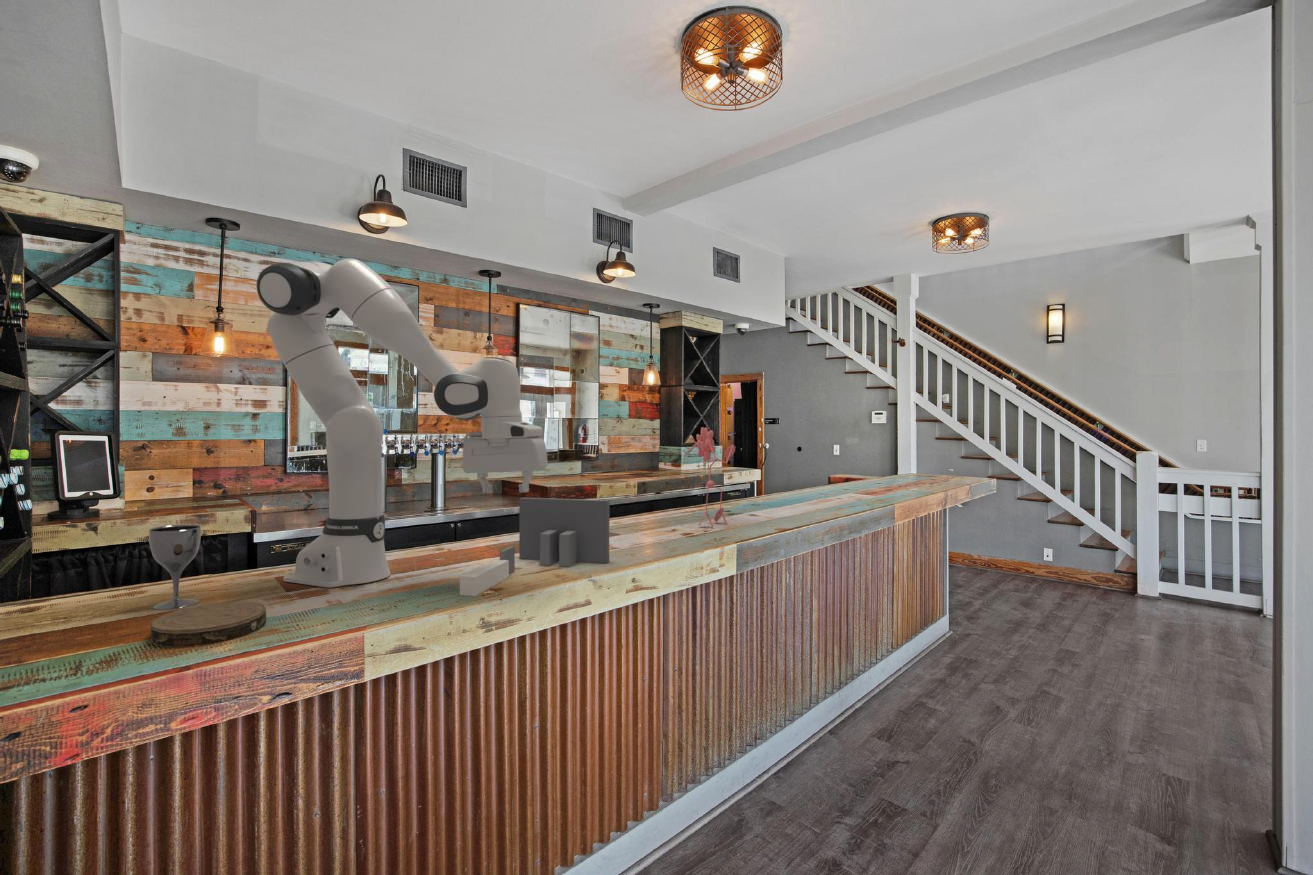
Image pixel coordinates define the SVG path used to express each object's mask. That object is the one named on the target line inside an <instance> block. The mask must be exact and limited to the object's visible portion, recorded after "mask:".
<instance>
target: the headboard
mask: <svg viewBox="0 0 1313 875" xmlns="http://www.w3.org/2000/svg"><path fill="white" fill-rule="evenodd" d="M518 519H519V522H518V523H519V526H518V527H519V531H518V532H519V538H518V540H519V548H518V549H519V551H518V552H519V553H518V554H519V556H518V558H519V559H520V560H534V561H535V560H536V561H539V566H541V565H542V566H545V567H550V566H552V565H554V564H555V563H557V562H558V564H559V565H558V566H559V568H560V567H564V568H570V567H572V566H573V565H574V564H576V563H591V564H593V563H594V564H609V562H610V500H609V499H585V498H583V499H580V498H547V497H546V498H545V497H520V498H519V518H518Z"/></svg>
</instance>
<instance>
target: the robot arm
mask: <svg viewBox="0 0 1313 875" xmlns="http://www.w3.org/2000/svg"><path fill="white" fill-rule="evenodd" d="M256 292H257V295H258V297H259V299H260V301H261V303H262V304H263V305H264V306H265V307H266V308H267V309H269V310H270V311H271V312H274V313H273V314H272V315H271V316H270V317H269V319H268V321H267V330H268V333H269V336H270V338H271V341H272V343H273V346H274V348H275V350H276V352H277V355H278V356H279V358H280V360H281V362H282V363H283V365H284V366H285V369H286V370H287V372H288V374H289V375H290V377H291V379H292V380H293V382H294V383H295V385H296V386H297V388H298V390H299V392H300V393H301V395H302V397H303V398H304V399H305V401H306V402H307V403H308V405H309V406H310V408H311V409H312V410H313V411H314V413H315V414H316V415H317V417H318V419H319V421H320V422H321V423H322V424H323V425H324V427H325V444H326V446H325V447H326V448H325V449H326V460H327V462H326V463H327V473H328V475H327V476H328V489H329V490H328V491H329V493H328V494H329V495H328V496H329V498H328V501H329V502H328V506H329V509H328V510H329V511H328V512H329V516H328V517H327V518H325V520H320V521H317V522H318V523H320V524H318V527H322V526H323V528H322V534H320V535H319V536H318V537H316V538H315V539H313V540H312V541H311V542H310V543H308V545H306V546H305V547H303V548H302V549H301V550H300V551H299V553H298V554H297V556H296V560H295V567H294V568H295V569H294V571H291V572H289V573H287V574H285V575H284V576H283V580H282V581H283V582H287V583H292V584H293V583H295V584H301V585H307V586H315V587H321V588H327V589H329V588H336V587H343V586H349V585H358V584H365V583H366V584H367V583H371V582H372V583H373V582H376V581H379V580H380V581H381V580H383V579H385V578H388V577H389V576H391V574H392V573H391V570H390V568H389V564H388V560H387V555H386V554H387V553H386V549H385V532H386V519H385V516H386V515H385V514H384V513H383V511H384V510H383V509H384V508H383V504H384V503H383V502H384V501H383V500H384V499H383V496H384V495H383V493H384V491H383V488H384V487H383V486H384V485H383V484H384V481H383V480H384V479H383V459H382V457H383V456H382V452H383V451H382V448H383V447H382V441H383V437H384V426H383V423H382V421H381V419H380V418H379V416H378V414H377V413H376V411H375V410H374V407H373V406H372V405H371V403H370V402H369V400H368V398H367V396H366V394H365V393H364V392H363V390H362V388H361V387H360V385H359V383H358V381H357V380H356V379H355V377H354V376H353V374H352V372H351V371H350V369H349V367H348V365H347V363H346V362H345V360H344V359H343V357H342V355H341V354H340V353H341V352H339V350H338V348H337V347H336V345H335V343H334V342H333V340H332V339H331V337H330V336H329V333H328V331H327V329H326V327H325V320H326V319H333V318H335V316H336V315H337V314H338V313H339V312H340V310H341V311H342V313H344V314H345V316H346V317H347V318H348V319H349V320H350V321H351V322H352V323H353V324H354V325H355V327H357V328H358V329H359V330H360V331H361V332H362V333H363V334H365V335H366V336H367V337H369V338H370V339H371V340H373V341H374V342H376V344H378V345H380V346H382V347H384V348H385V349H388V350H389V351H391V352H394V353H395V354H398V355H399V356H401V357H402V358H404V360H406V361H408V362H409V363H411V365H413V367H415V368H416V369H417V370H418V371H419V372H420V373H421V374H422V375H423V376H424V377H425V378H426V379H427V380H428V381H429V382H430V383H431V384H432V386H434V387H435V388H434V391H433V399H434V402H435V404H436V406H437V408H438V409H439V410H440V411H441V412H442V413H444V414H445V415H448V416H449V417H453V418H455V419H457V420H459V421H473V420H476V419H478V418H479V417H480V421H481V422H480V423H481V425H480V426H481V431H476V432H475V431H474V432H472V431H471V432H468V433H467V434H466V435H465V436H464V438H463V440H462V442H463V443H462V444H463V450H462V461H461V462H462V464H461V465H462V469H463V472H464V473H465V474H476V476H477V480H478V482H479V483H480V484H481V486H482V487H481V488H482V493H483V494H490V493H493V491H494V490H493V484H490V483H489V480H488V477H489V473H512V472H513V473H515V472H516V473H517V472H520V473H522V474H521V476H522V477H523V480H522V483H519V484H518V488H519V489H518V492H519V493H529V490H530V488H529V487H530V486H529V485H530V482H531V481H532V479H533V476H534V473H533V472H541V471H545V470H546V468H547V466H548V452H547V446H546V442H545V440H544V439H543V438H542V436H543V433H544V430H543V428H542V426H540V425H539V426H538V425H536V424H532V423H529V422H525V421H523V416H522V412H521V407H520V401H521V384H520V376H519V371H518V368H517V366H516V365H515V364H514V363H513V362H512V361H510V360H509V359H506V358H502V357H496V356H495V357H494V356H486V357H482V358H481V359H479V360H478V362H475V363H474V364H473V365H471V366H469V367H467V368H465V369H462V370H458V369H457V368H455V367H454V366H453V365H452V364H451V362H450V361H449V360H447V358H446V357H444V354H442V353H441V352H440V351H439V349H437V348H436V347H435V346H434V345H433V343H432V342H431V340H430V339H429V338H428V336H427V335H426V334H425V332H424V330H423V328H422V327H421V325H420V323H419V322H418V320H417V318H416V317H415V315H414V314H413V312H412V310H411V309H410V308H409V306H408V305H407V303H406V302H405V301H404V300H403V298H402V297H401V296H400V295H399V293H398V292H396V290H395V289H394V288H393V287H392V286H391V285H390V284H389V283H388V282H387V281H386V280H385V279H384V278H383V277H381V276H380V275H379V274H378V273H377V272H376V271H374V270H373V269H372V268H370V267H369V266H368V265H367V264H366V263H364V262H363V261H360V259H355V258H344V259H341V260H339V261H337V262H335V263H332V262H328V261H313V260H301V261H294V262H279V263H274V264H271V265H269V266H267V267H265V268H264V269H262V271H260V272H259V275H258V276H257V279H256Z"/></svg>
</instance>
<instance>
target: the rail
mask: <svg viewBox="0 0 1313 875" xmlns="http://www.w3.org/2000/svg"><path fill="white" fill-rule="evenodd" d="M515 550H516V548H515V546H512V545H510V546H508V547H506V548H504V549H502V550H499V559H493V560H491V561H489V562H487V563H485V564H482V565H480V566H478V567H476V568H474V569H472V570H470V571H467V572H465V573H463V574H461V575H459V596H463V597H464V596H465V597H476V596H479V595H480V594H482V593H483V592H486V591H487V590H489V589H491V588H493V587H494V586H496V585H498V584H500V583H502V582H503V581H505V580H506V579H508V578H509V576H510V575H511V574H512V573H515V572H516V571H515V565H516V564H515V563H516V562H515V560H516V559H515V555H516V554H515ZM501 581H502V582H501Z"/></svg>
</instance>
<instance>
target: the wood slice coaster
mask: <svg viewBox="0 0 1313 875" xmlns="http://www.w3.org/2000/svg"><path fill="white" fill-rule="evenodd" d="M266 623H267V606H266V605H264V604H263V603H260V602H254V601H224V602H215V603H207V604H202V605H196V606H194V605H193V606H189V607H184V608H180V609H178V610H177V609H176V610H175V611H174V610H173V611H171V612H168V613H165V614H163V615H160V616H158V617H157V618H154V619H153V620H152V622H150V640H151V639H152V641H153V642H152V641H151V642H152V644H153V643H155V644H154V645H156V644H158V645H157V646H159V645H161V646H160V647H164V646H165V647H166V648H167V647H168V648H187V646H192V647H196V646H195V645H200V646H209V645H214V644H219V643H223V642H229V641H233V640H235V639H239V638H243V637H246V636H249V635H250V634H254V633H256V632H258V631H260V630H261V629H262V628H264V627H265V626H266ZM206 644H207V645H206Z"/></svg>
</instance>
